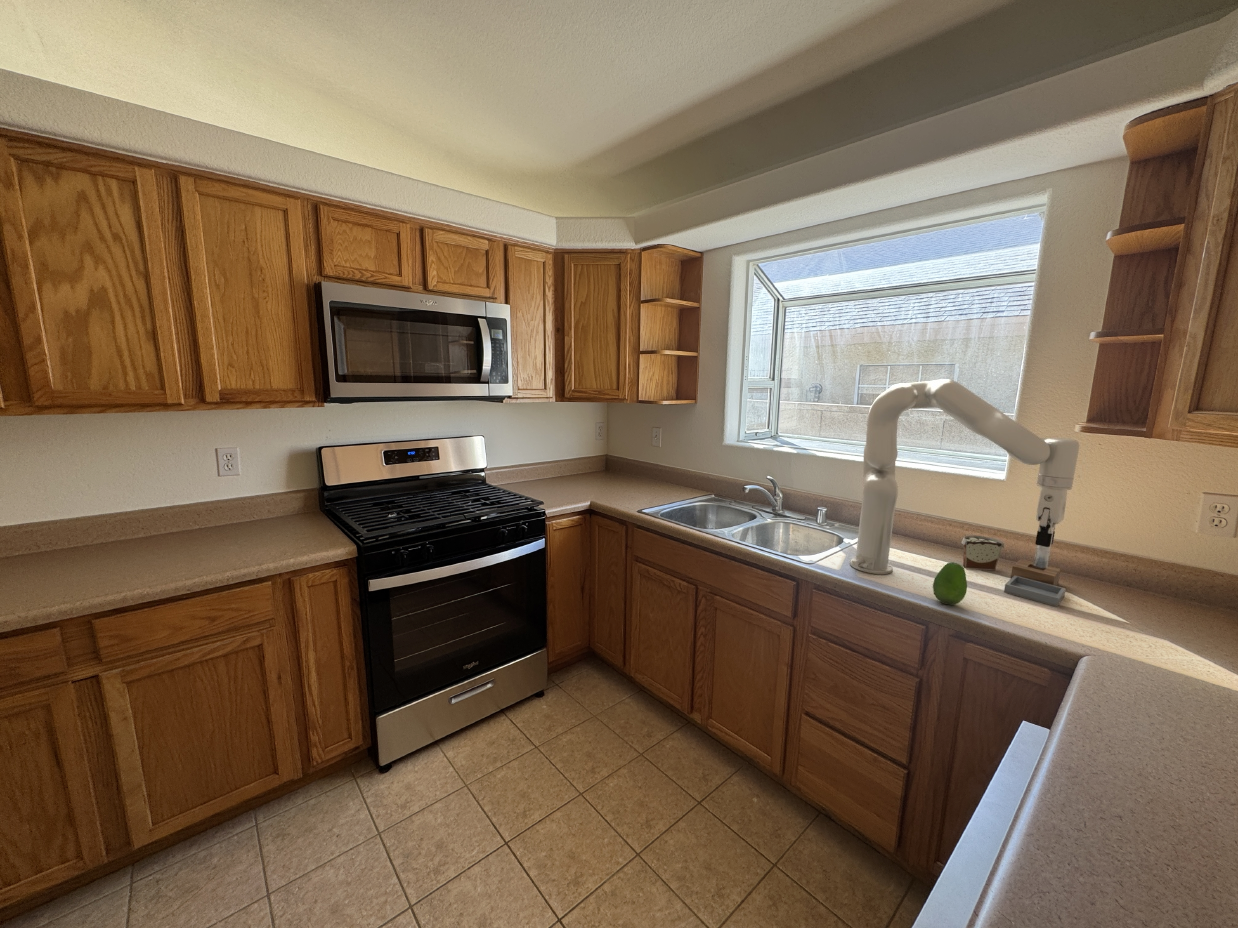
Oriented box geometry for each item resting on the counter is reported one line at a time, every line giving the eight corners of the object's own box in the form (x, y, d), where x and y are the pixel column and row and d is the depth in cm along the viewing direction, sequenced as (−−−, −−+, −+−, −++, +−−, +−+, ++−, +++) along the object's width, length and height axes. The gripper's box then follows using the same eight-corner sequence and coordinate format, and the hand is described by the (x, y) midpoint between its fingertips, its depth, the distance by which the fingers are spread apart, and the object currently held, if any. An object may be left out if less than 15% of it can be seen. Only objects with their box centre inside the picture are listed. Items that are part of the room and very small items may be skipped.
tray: (1056, 606, 137) (1058, 598, 137) (1003, 592, 146) (1005, 584, 146) (1064, 596, 144) (1065, 588, 144) (1013, 582, 153) (1014, 575, 153)
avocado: (968, 611, 133) (974, 569, 131) (934, 606, 135) (940, 564, 133) (959, 599, 140) (965, 559, 138) (927, 594, 143) (933, 555, 141)
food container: (988, 563, 169) (992, 535, 168) (1000, 570, 163) (1005, 541, 162) (950, 561, 171) (954, 533, 169) (960, 568, 165) (965, 539, 163)
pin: (1045, 568, 141) (1053, 528, 139) (1032, 565, 144) (1039, 525, 142) (1048, 566, 143) (1055, 526, 141) (1034, 563, 146) (1041, 524, 144)
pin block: (1051, 592, 147) (1054, 576, 146) (1010, 581, 155) (1012, 565, 154) (1058, 583, 153) (1061, 568, 153) (1017, 573, 161) (1020, 559, 160)
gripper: (1066, 488, 131) (1055, 554, 134) (1077, 480, 142) (1066, 542, 145) (1031, 483, 137) (1020, 546, 140) (1043, 476, 147) (1033, 535, 150)
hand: (1043, 543), depth 142 cm, fingers closed on pin, 3 cm apart
